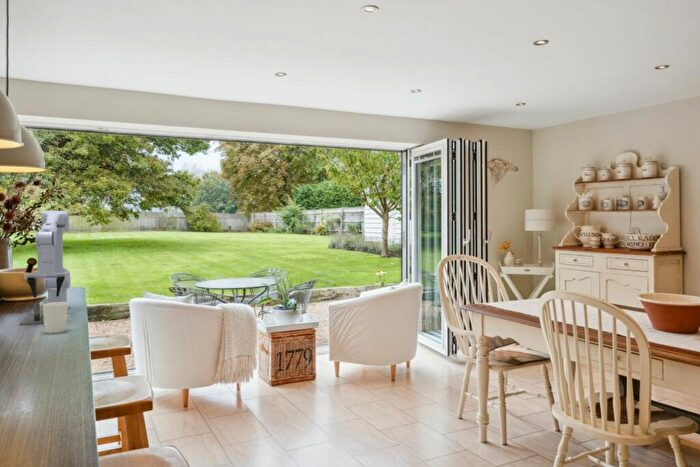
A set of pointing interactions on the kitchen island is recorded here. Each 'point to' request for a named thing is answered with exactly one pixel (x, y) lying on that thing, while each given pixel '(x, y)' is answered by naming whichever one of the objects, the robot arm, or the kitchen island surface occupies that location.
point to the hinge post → (36, 312)
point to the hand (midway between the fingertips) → (46, 296)
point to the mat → (31, 320)
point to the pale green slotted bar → (41, 308)
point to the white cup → (55, 316)
